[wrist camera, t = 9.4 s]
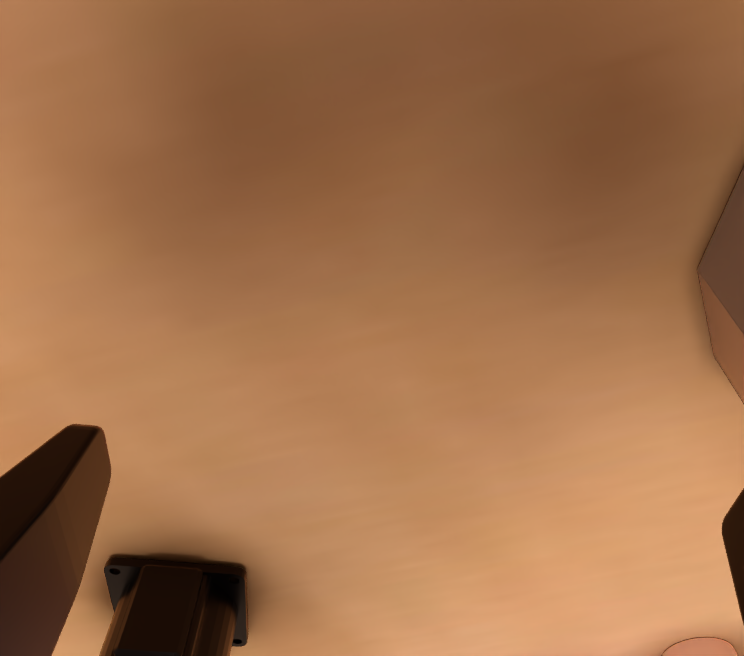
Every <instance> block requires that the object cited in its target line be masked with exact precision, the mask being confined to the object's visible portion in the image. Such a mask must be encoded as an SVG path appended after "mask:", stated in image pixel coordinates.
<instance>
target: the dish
mask: <svg viewBox="0 0 744 656" xmlns="http://www.w3.org/2000/svg"><path fill="white" fill-rule="evenodd" d="M697 271H698V276H699V281H700V286H701V291H702V297H703V302H704V307H705V312H706V317H707V323H708V328H709V333H710V338H711V343H712V348H713V354H714V357H715V359H716V360H717V362H718V364H719V365H720V367H721V368H722V370H723V372H724V373H725V375H726V376H727V378H728V380H729V381H730V383H731V384H732V386H733V388H734V389H735V391H736V392H737V394H738V396H739V397H740V399H741V400H742V402H743V404H744V168H743V170H742V172H741V174H740V176H739V179H738V181H737V183H736V185H735V187H734V190H733V192H732V194H731V196H730V198H729V200H728V203H727V205H726V207H725V209H724V211H723V214H722V216H721V218H720V220H719V222H718V225H717V227H716V229H715V231H714V233H713V236H712V238H711V240H710V242H709V244H708V247H707V249H706V251H705V253H704V255H703V258H702V260H701V262H700V264H699V266H698V268H697Z"/></svg>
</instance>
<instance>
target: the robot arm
mask: <svg viewBox="0 0 744 656" xmlns="http://www.w3.org/2000/svg"><path fill="white" fill-rule="evenodd" d="M110 478H111V464H110V459H109V454H108V449H107V444H106V439H105V434H104V431H103V430H102V428H101V427H98V426H92V425H81V424H72V425H69V426H67V427H65V428H64V429H63V430H61V431H60V432H59V433H57V434H56V435H55V436H53V437H52V438H51V439H49V440H48V441H47V442H46V443H44V444H43V445H42V446H40V447H39V448H38V449H36V450H35V451H34V452H32V453H31V454H30V455H29V456H27V457H26V458H25V459H23V460H22V461H21V462H19V463H18V464H17V465H15V466H14V467H13V468H12V469H10V470H9V471H8V472H6V473H5V474H4V475H2V476H1V477H0V656H51V655H52V653H53V651H54V648H55V646H56V643H57V641H58V639H59V636H60V634H61V631H62V629H63V626H64V624H65V622H66V619H67V617H68V614H69V612H70V610H71V607H72V605H73V602H74V600H75V597H76V594H77V592H78V589H79V586H80V583H81V580H82V577H83V573H84V570H85V567H86V563H87V560H88V556H89V553H90V549H91V546H92V543H93V539H94V536H95V532H96V529H97V525H98V522H99V518H100V515H101V511H102V508H103V504H104V501H105V497H106V494H107V491H108V487H109V483H110ZM722 536H723V541H724V545H725V549H726V553H727V557H728V562H729V566H730V570H731V574H732V578H733V583H734V587H735V591H736V595H737V600H738V604H739V608H740V612H741V616H742V621H743V624H744V489H743V490H742V492H741V493H740V495H739V496H738V498H737V499H736V501H735V502H734V504H733V505H732V507H731V508H730V510H729V511H728V513H727V514H726V516H725V518H724V520H723V523H722ZM104 573H105V577H106V581H107V585H108V589H109V593H110V597H111V601H112V605H113V609H114V615H113V618H112V621H111V624H110V627H109V629H108V632H107V635H106V638H105V641H104V643H103V646H102V649H101V652H100V655H99V656H230V652H231V647H232V646H244V645H246V643H247V639H248V610H247V577H246V571H245V570H244V569H242V568H240V567H234V566H221V565H208V564H194V563H181V562H168V561H155V560H142V559H129V558H110V559H108V560H107V563H106V565H105V568H104Z"/></svg>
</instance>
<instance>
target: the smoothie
mask: <svg viewBox="0 0 744 656" xmlns="http://www.w3.org/2000/svg"><path fill="white" fill-rule="evenodd" d="M662 656H738V655H737V653H736V651H735V650H734V648H733V646H732V645H731V644H730V643H728V642H727V641H724V640H722V639H717V638H694V639H689V640H685V641H682V642H679V643H677V644H675V645H673V646H671V647H670V648H668V649H667V650H666V651H665V652H664V653H663V655H662Z"/></svg>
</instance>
